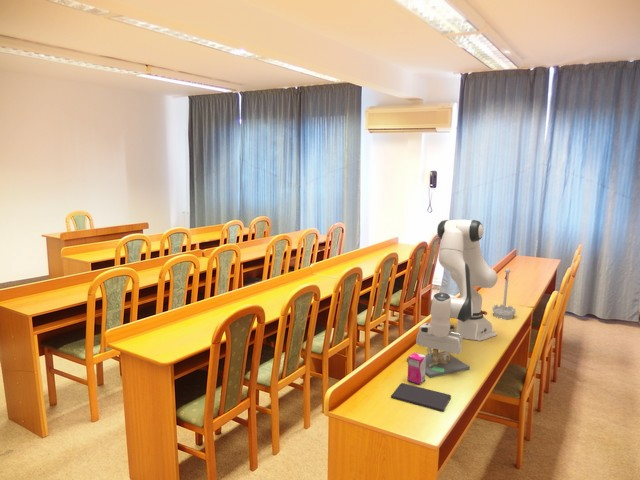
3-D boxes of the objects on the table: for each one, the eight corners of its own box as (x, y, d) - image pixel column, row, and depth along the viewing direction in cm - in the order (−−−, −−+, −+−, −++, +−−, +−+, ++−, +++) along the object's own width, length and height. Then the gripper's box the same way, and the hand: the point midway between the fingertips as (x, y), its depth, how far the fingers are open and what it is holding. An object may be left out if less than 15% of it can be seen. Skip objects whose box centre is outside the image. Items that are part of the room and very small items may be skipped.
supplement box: (413, 376, 212) (414, 351, 210) (425, 380, 208) (426, 355, 206) (406, 380, 207) (407, 356, 205) (419, 385, 204) (420, 360, 202)
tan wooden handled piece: (440, 357, 228) (441, 341, 226) (452, 361, 224) (453, 345, 222) (423, 366, 218) (424, 349, 216) (435, 370, 214) (436, 354, 212)
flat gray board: (444, 354, 235) (445, 350, 235) (470, 370, 219) (470, 366, 218) (406, 361, 227) (406, 357, 226) (430, 378, 210) (430, 374, 210)
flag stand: (495, 311, 300) (499, 264, 294) (517, 315, 292) (522, 267, 287) (489, 316, 289) (493, 268, 284) (511, 321, 282) (516, 272, 276)
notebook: (390, 399, 193) (443, 413, 183) (390, 395, 193) (443, 409, 183) (401, 385, 204) (451, 398, 194) (401, 382, 204) (451, 395, 194)
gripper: (464, 331, 213) (462, 360, 215) (420, 322, 223) (418, 350, 225) (461, 336, 207) (458, 366, 210) (415, 327, 217) (414, 355, 220)
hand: (437, 358), depth 218 cm, fingers open, 4 cm apart
